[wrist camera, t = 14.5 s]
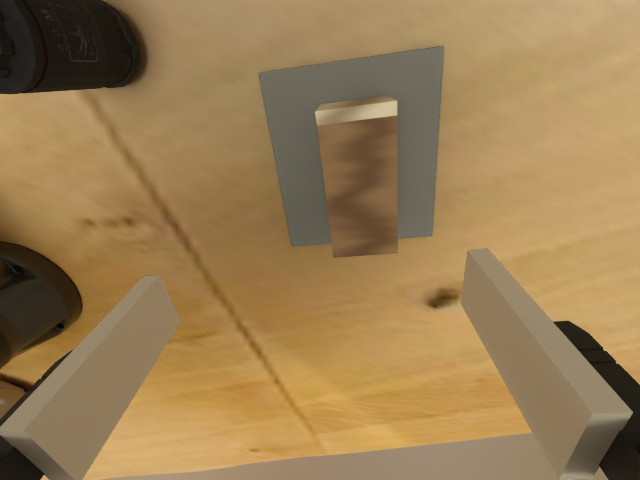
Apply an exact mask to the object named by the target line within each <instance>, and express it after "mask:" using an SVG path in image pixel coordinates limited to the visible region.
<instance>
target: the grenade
mask: <svg viewBox="0 0 640 480" xmlns="http://www.w3.org/2000/svg"><path fill="white" fill-rule="evenodd" d="M139 63H140V55H139V46H138V43H137V40H136V37H135V35H134V32H133V31H132V29H131V27H130V26H129V24H128V22H127V21H126V19H125V18H124V17H123V16H122V15H121V14H120V13H119V12H118V11H117V10H116V9H115V8H114V7H112V6H110V5H109V4H107V3H105V2H104V1H102V0H0V94H19V93H36V92H51V91H66V90H81V89H96V88H103V87H106V88H117V87H124V86H125V85H127V84H128V83H130V82H131V81H132V80H133V79H134V77H135V76H136V74H137V72H138V68H139Z"/></svg>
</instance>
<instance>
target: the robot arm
mask: <svg viewBox="0 0 640 480" xmlns="http://www.w3.org/2000/svg"><path fill="white" fill-rule="evenodd" d="M461 305H462V306H463V308H464V310H465V312H466V314H467V315H468V317H469V319H470V321H471V322H472V324H473V326H474V328H475V330H476V331H477V333H478V335H479V337H480V339H481V340H482V342H483V344H484V346H485V348H486V349H487V351H488V353H489V355H490V357H491V358H492V360H493V362H494V364H495V366H496V367H497V369H498V371H499V373H500V375H501V376H502V378H503V380H504V382H505V384H506V385H507V387H508V389H509V391H510V393H511V394H512V396H513V398H514V400H515V402H516V403H517V405H518V407H519V409H520V411H521V412H522V414H523V416H524V418H525V420H526V421H527V423H528V425H529V427H530V429H531V430H532V432H533V434H534V436H535V438H536V439H537V441H538V443H539V444H540V446H541V448H542V450H543V452H544V454H545V456H546V457H547V459H548V461H549V463H550V464H551V466H552V468H553V470H554V472H555V473H556V475H557V477H558V479H592V477H593V476H594V475H595V473H596V471H597V470H598V468H599V467H600V468H601V469H602V470H603V472H604V474H605V475H606V476H607V478H608V479H609V480H640V385H639V384H638V383H637V382H636V381H635V380H634V379H633V378H632V377H631V376H630V375H629V374H628V373H627V372H626V371H625V370H624V369H623V368H622V367H621V366H620V365H619V364H616V361H615V360H614V358H613V357H612V356H611V355H610V354H609V353H608V352H607V351H604V350H603V347H602V346H601V345H600V344H599V343H598V342H597V341H596V340H595V339H594V338H593V337H592V336H591V335H590V334H589V333H587V332H586V331H584V330H583V329H581V328H579V327H578V326H576V325H575V324H573V323H571V322H570V321H557V322H553V321H552V320H551V319H550V318H549V317H548V316H547V315H546V314H545V312H544V311H543V310H542V309H541V308H540V307H539V306H538V305H537V303H536V302H535V301H534V300H533V299H532V298H531V297H530V296H529V294H528V293H527V292H526V291H525V290H524V289H523V288H522V287H521V285H520V284H519V283H518V282H517V281H516V280H515V279H514V278H513V276H512V275H511V274H510V273H509V272H508V271H507V270H506V269H505V267H504V266H503V265H502V264H501V263H500V262H499V261H498V260H497V258H496V257H495V256H494V255H493V254H492V253H491V252H490V251H489V249H488V248H485V249H473V250H468V251H467V258H466V266H465V274H464V281H463V289H462V297H461ZM80 313H81V300H80V296H79V294H78V292H77V290H76V288H75V286H74V285H73V283H72V282H71V281H70V279H69V278H68V277H67V276H66V275H65V274H64V273H63V272H62V271H61V270H60V269H59V268H58V267H57V266H55V265H54V264H53V263H51V262H50V261H49V260H47V259H46V258H44V257H42V256H41V255H39V254H37V253H35V252H33V251H31V250H29V249H26V248H24V247H21V246H17V245H14V244H9V243H2V242H0V369H1V368H2V367H3V366H4V365H6V364H7V363H8V362H9V361H10V360H12V359H13V358H14V357H16V356H18V355H20V354H22V353H24V352H26V351H28V350H30V349H32V348H34V347H36V346H38V345H40V344H42V343H44V342H46V341H48V340H50V339H52V338H54V337H56V336H58V335H59V334H61V333H62V332H64V331H65V330H66V329H67V328H68V327H70V326H71V325H72V324H73V323H74V322H75V321H76V320H77V319H78V317H79V316H80ZM180 322H181V320H180V318H179V316H178V313H177V311H176V309H175V307H174V305H173V303H172V300H171V298H170V296H169V294H168V292H167V289H166V287H165V285H164V283H163V281H162V279H161V276H160V275H152V276H143V277H142V278H141V279H140V280H139V281H138V283H137V284H136V285H135V286H134V287H133V288H132V289H131V290H130V291H129V292H128V293H127V294H126V295H125V296H124V297H123V298H122V299H121V300H120V301H119V303H118V304H117V305H116V306H115V307H114V308H113V309H112V310H111V311H110V312H109V313H108V314H107V315H106V316H105V317H104V318H103V319H102V320H101V321H100V323H99V324H98V325H97V326H96V327H95V328H94V329H93V330H92V331H91V332H90V333H89V334H88V335H87V336H86V337H85V338H84V339H83V340H82V341H81V342H80V344H79V345H78V346H77V347H76V348H75V349H74V350H72V351H70V352H69V353H68V354H66V355H65V356H63V357H62V358H61V359H59V360H58V361H57V362H55V363H54V364H53V365H52V366H51V367H50V368H49V369H48V370H47V371H46V372H45V373H44V375H43V376H42V378H41V379H39V380H38V381H37V382H36V383H35V384H34V385H33V386H32V387H31V390H30V391H27V392H26V393H25V394H24V395H23V396H22V397H21V398H20V399H19V400H18V401H17V402H16V403H15V404H14V405H13V406H12V407H11V408H10V409H9V411H8V412H7V413H6V414H5V415H4V416H3V417H2V418H1V419H0V480H40V479H41V478H42V476H43V475H45V476H46V477H47V478H49V479H50V480H82V479H83V478H84V476H85V474H86V473H87V471H88V469H89V468H90V466H91V465H92V463H93V461H94V460H95V458H96V457H97V455H98V453H99V452H100V450H101V449H102V447H103V445H104V444H105V442H106V441H107V439H108V437H109V436H110V434H111V433H112V431H113V429H114V428H115V426H116V425H117V423H118V421H119V420H120V418H121V417H122V415H123V413H124V412H125V410H126V409H127V407H128V405H129V404H130V402H131V401H132V399H133V397H134V396H135V394H136V393H137V391H138V389H139V388H140V386H141V385H142V383H143V381H144V380H145V378H146V377H147V375H148V373H149V372H150V370H151V369H152V367H153V365H154V364H155V362H156V361H157V359H158V357H159V356H160V354H161V353H162V351H163V349H164V348H165V346H166V344H167V343H168V341H169V340H170V338H171V336H172V335H173V333H174V332H175V330H176V328H177V327H178V325H179V324H180Z"/></svg>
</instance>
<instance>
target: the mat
mask: <svg viewBox="0 0 640 480" xmlns="http://www.w3.org/2000/svg"><path fill="white" fill-rule="evenodd" d="M443 53H444V46H441V47H434V48H427V49H420V50H413V51H406V52H400V53H393V54H386V55H379V56H372V57H365V58H358V59H351V60H345V61H338V62H331V63H324V64H317V65H310V66H303V67H296V68H290V69H283V70H276V71H269V72H262V73H258V74H259V79H260V84H261V89H262V95H263V100H264V105H265V110H266V115H267V120H268V126H269V131H270V136H271V141H272V146H273V151H274V157H275V162H276V167H277V172H278V177H279V183H280V188H281V193H282V198H283V203H284V208H285V214H286V219H287V224H288V229H289V234H290V239H291V245H292V246H303V245H316V244H330V243H332V241H331V233H330V225H329V217H328V209H327V201H326V193H325V185H324V177H323V169H322V161H321V153H320V145H319V137H318V129H317V123H316V115H315V111H316V110H317V108H318V107H319V106H320V104H327V103H334V102H341V101H349V100H356V99H364V98H371V97H379V96H386V95H387V96H389V97H391V98H393V99H395V100H397V219H398V239H399V238H413V237H427V236H432V229H433V213H434V197H435V181H436V165H437V149H438V133H439V117H440V101H441V85H442V69H443Z"/></svg>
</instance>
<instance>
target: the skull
mask: <svg viewBox="0 0 640 480" xmlns="http://www.w3.org/2000/svg"><path fill="white" fill-rule="evenodd" d="M25 393H26V392H25V391H24V390H23V389H22V388H20V387H17V386H15V385H13V384H11V383H6V382H4V381H0V419H1V418H2V417H3V416H4V415H5V414H6V413H7V412H8V411H9V409H10V408H11V407H12V406H13V405H14V404H15V403H16V402H17V401H18V400H19V399H20V398H21V397H22V396H23V395H24V394H25Z"/></svg>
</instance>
